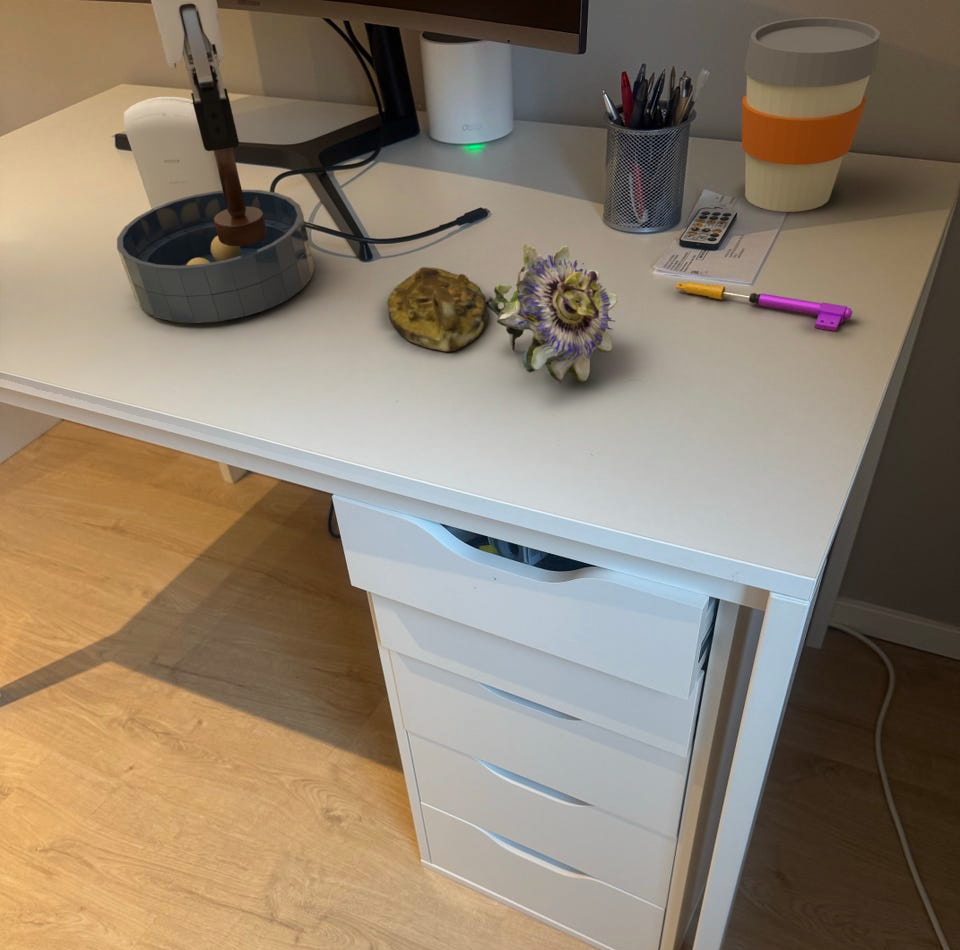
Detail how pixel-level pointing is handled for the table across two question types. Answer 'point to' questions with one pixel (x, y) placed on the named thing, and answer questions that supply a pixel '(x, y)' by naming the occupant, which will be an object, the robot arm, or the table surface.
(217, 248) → the dough ball
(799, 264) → the table surface
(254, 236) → the wooden dough tamper
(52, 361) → the table surface
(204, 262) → the dough ball
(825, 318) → the piston cylinder
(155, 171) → the photo printer
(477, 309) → the lumpy olive cookie
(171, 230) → the bowl
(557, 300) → the passion flower
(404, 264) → the table surface
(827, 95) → the reusable coffee cup
